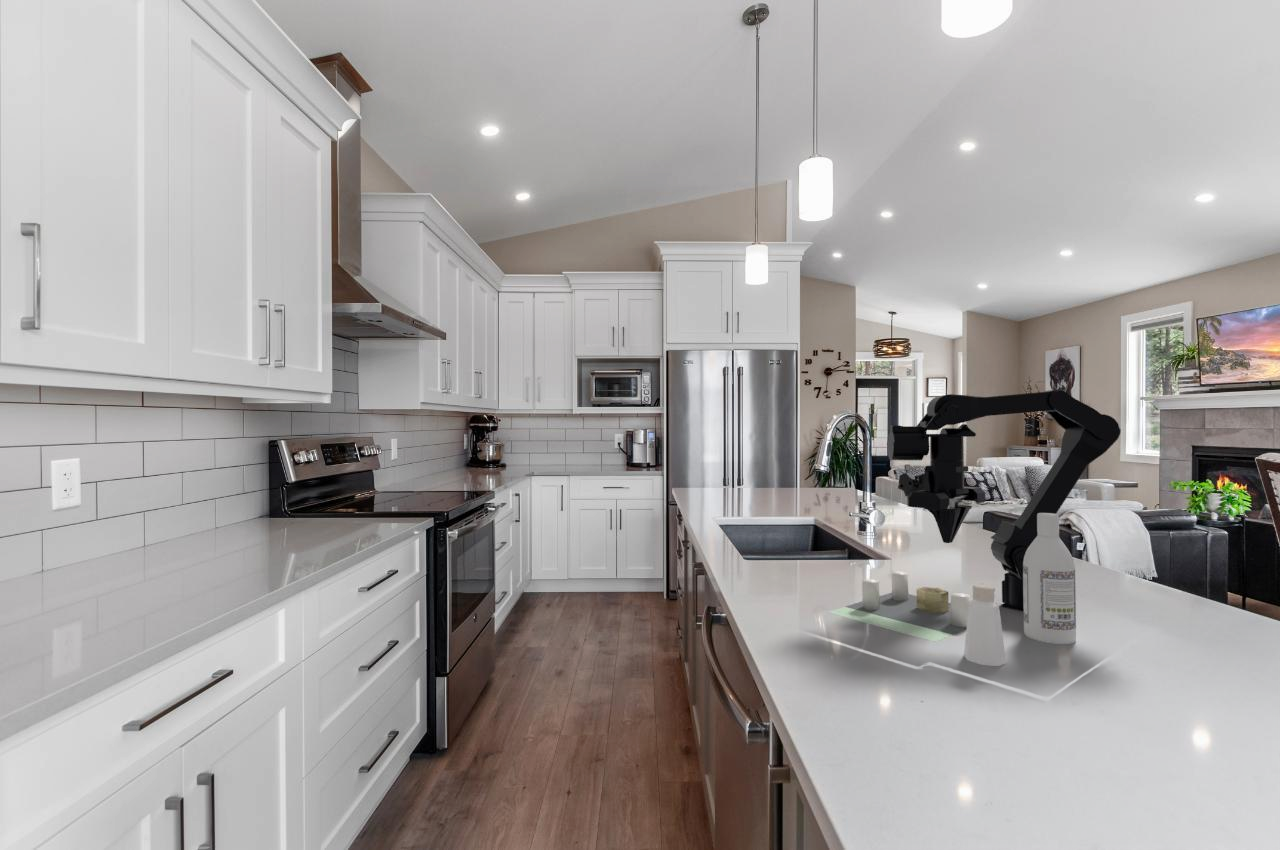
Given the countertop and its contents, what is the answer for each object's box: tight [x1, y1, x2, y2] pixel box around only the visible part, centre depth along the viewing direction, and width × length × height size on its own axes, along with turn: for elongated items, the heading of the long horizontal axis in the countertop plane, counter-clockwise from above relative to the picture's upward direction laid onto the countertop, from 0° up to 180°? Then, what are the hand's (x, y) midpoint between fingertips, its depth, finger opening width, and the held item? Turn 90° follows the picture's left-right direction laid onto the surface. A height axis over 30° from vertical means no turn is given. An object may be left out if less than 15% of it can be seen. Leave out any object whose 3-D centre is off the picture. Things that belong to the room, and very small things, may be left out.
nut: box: [916, 586, 950, 614], centre depth 113 cm, size 5×5×4 cm
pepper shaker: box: [963, 583, 1007, 667], centre depth 89 cm, size 5×5×11 cm
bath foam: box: [1023, 513, 1077, 645], centre depth 98 cm, size 7×7×20 cm
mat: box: [827, 592, 967, 643], centre depth 111 cm, size 20×23×1 cm
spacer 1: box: [861, 578, 881, 610], centre depth 114 cm, size 3×3×5 cm
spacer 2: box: [891, 570, 909, 601], centre depth 120 cm, size 3×3×5 cm
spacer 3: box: [950, 592, 972, 628], centre depth 104 cm, size 3×3×5 cm
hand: (947, 542), depth 117 cm, fingers closed
